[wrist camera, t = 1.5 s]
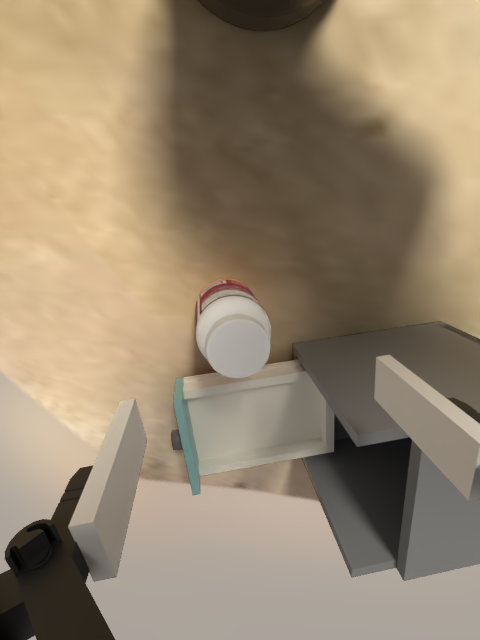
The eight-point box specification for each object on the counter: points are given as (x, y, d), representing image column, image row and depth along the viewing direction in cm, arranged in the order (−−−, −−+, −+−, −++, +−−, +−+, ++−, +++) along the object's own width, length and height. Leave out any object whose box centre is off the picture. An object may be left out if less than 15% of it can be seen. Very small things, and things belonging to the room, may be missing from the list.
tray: (326, 355, 34) (343, 374, 30) (326, 439, 38) (341, 467, 34) (164, 380, 33) (160, 404, 28) (183, 465, 37) (181, 497, 33)
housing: (440, 321, 36) (614, 400, 21) (426, 424, 41) (556, 546, 26) (292, 343, 34) (365, 445, 19) (297, 447, 39) (357, 591, 25)
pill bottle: (241, 340, 33) (260, 398, 23) (187, 322, 32) (182, 376, 22) (263, 288, 32) (295, 326, 21) (208, 267, 30) (213, 297, 20)
